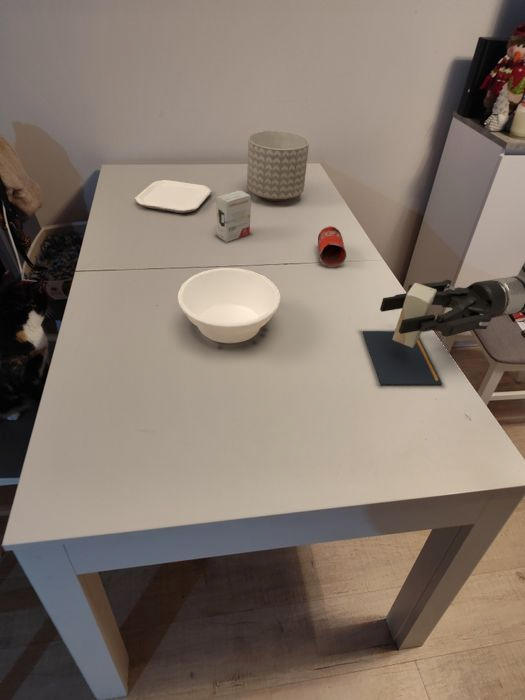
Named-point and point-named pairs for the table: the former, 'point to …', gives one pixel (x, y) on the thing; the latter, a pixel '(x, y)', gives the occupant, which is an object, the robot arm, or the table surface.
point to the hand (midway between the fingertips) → (391, 315)
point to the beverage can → (331, 247)
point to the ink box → (233, 215)
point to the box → (414, 311)
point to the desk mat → (399, 360)
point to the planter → (277, 164)
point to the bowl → (229, 303)
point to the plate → (173, 196)
